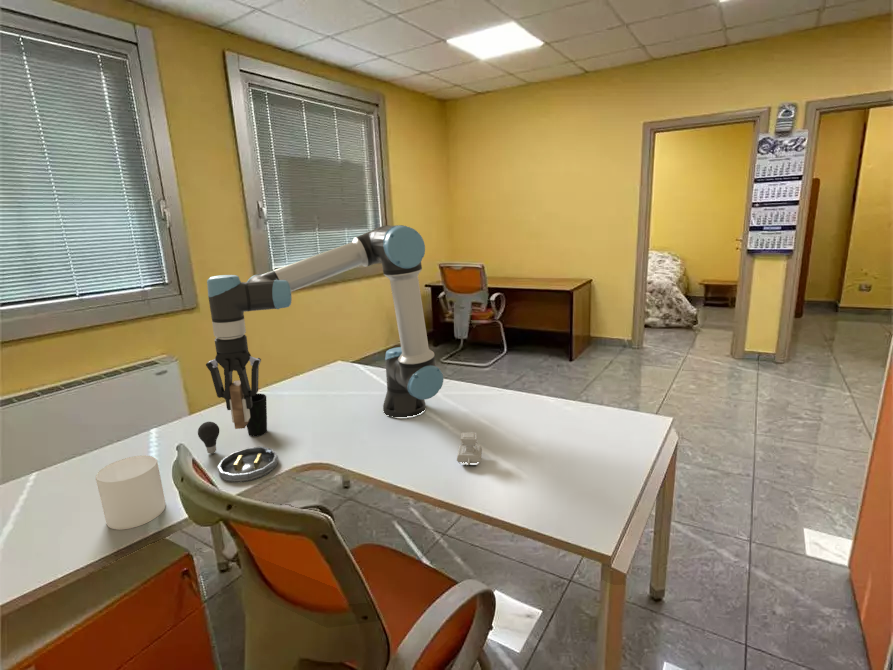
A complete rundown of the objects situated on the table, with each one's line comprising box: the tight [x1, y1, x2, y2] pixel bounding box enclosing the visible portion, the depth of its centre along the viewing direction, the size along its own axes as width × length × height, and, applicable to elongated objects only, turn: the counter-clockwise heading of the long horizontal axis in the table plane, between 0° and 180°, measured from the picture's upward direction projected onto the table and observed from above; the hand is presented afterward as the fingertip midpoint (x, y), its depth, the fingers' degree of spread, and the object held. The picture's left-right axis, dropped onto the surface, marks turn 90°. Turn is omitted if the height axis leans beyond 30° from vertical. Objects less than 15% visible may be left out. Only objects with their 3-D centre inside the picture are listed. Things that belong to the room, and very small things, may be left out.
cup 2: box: [246, 393, 268, 437], centre depth 145 cm, size 8×8×12 cm
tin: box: [217, 446, 279, 483], centre depth 126 cm, size 15×15×3 cm
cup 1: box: [95, 455, 166, 531], centre depth 106 cm, size 12×12×12 cm
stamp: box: [456, 432, 483, 465], centre depth 126 cm, size 9×7×8 cm
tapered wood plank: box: [229, 379, 249, 430], centre depth 121 cm, size 2×4×12 cm, turn 8°
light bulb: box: [197, 421, 220, 455], centre depth 133 cm, size 6×6×10 cm
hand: (241, 419), depth 123 cm, fingers closed on tapered wood plank, 2 cm apart
